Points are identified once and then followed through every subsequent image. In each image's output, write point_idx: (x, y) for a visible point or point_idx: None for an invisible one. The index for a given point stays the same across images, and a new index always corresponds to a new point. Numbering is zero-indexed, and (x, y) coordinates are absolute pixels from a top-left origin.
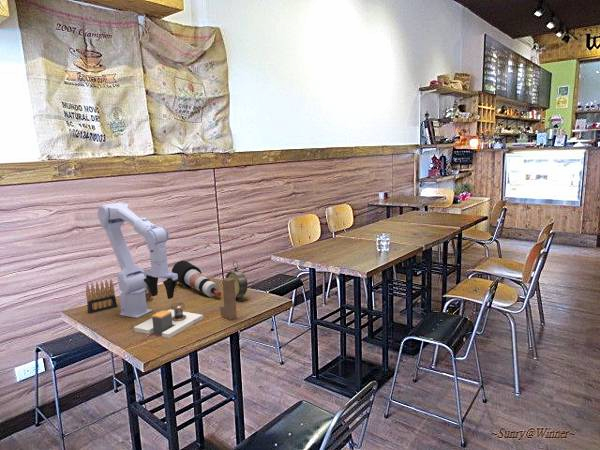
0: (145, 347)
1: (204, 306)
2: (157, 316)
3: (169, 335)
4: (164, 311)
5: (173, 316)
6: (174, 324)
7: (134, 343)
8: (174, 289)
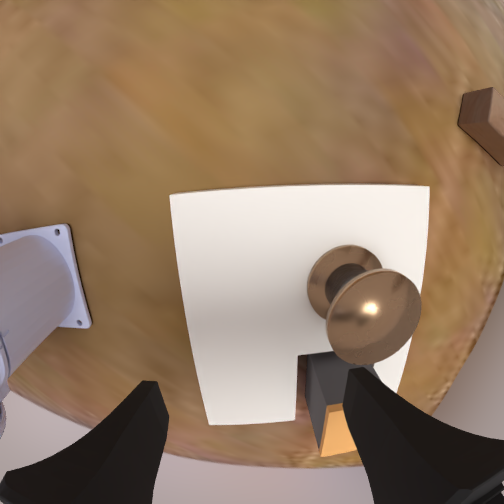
0: None
1: (299, 30)
2: (354, 449)
3: None
4: None
5: (308, 293)
6: None
7: (297, 449)
8: (412, 405)
